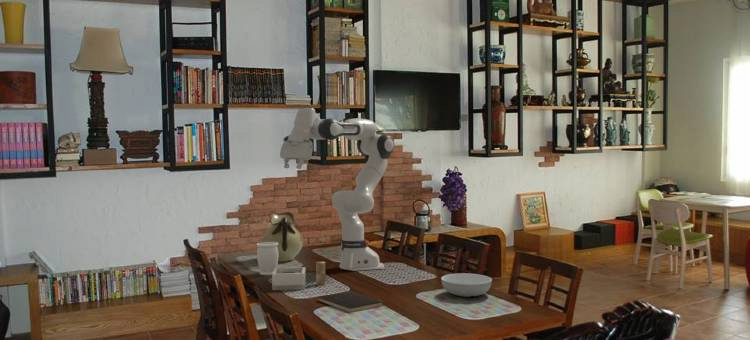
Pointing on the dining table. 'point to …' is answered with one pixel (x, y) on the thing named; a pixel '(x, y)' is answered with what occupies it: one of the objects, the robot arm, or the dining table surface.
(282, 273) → the white square box
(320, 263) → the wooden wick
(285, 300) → the dining table surface
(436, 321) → the dining table surface
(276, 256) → the jar
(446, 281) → the serving bowl
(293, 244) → the beige rounded piece
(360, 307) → the hardcover book
